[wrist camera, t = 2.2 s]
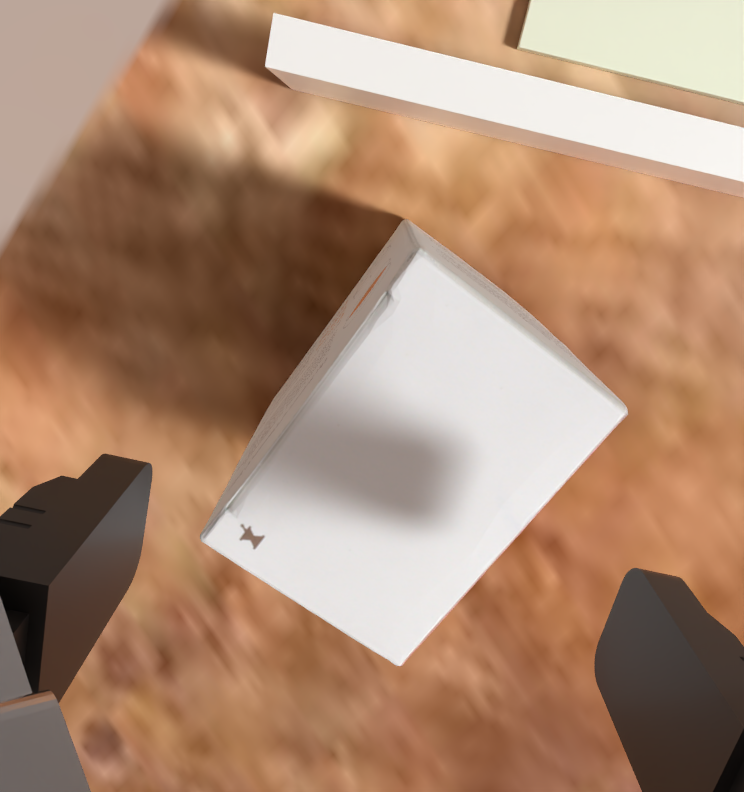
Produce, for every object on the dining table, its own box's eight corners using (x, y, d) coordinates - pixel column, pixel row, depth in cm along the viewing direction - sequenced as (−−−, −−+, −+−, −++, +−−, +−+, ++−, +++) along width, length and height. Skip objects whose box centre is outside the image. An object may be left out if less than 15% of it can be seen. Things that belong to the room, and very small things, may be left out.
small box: (394, 483, 26) (397, 680, 16) (269, 397, 25) (188, 548, 15) (536, 313, 24) (642, 415, 14) (405, 211, 23) (417, 243, 13)
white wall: (912, 196, 22) (1054, 203, 18) (896, 234, 23) (1029, 250, 18) (299, 48, 21) (273, 12, 17) (291, 89, 22) (264, 66, 17)
